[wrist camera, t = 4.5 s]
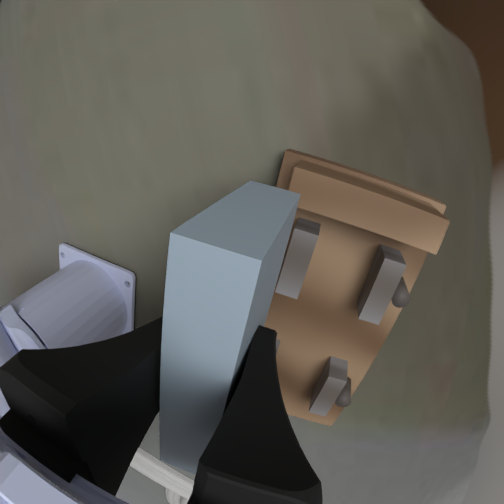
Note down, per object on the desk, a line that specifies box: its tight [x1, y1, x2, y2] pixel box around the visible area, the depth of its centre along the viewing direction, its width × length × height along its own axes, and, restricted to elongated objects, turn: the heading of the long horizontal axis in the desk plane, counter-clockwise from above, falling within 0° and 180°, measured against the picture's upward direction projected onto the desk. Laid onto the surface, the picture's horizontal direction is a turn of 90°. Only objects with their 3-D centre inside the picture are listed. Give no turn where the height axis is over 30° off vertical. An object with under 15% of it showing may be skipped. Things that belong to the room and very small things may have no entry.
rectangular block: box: [160, 181, 301, 475], centre depth 11 cm, size 10×3×6 cm, turn 168°
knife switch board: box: [264, 149, 450, 426], centre depth 18 cm, size 18×9×5 cm, turn 167°
